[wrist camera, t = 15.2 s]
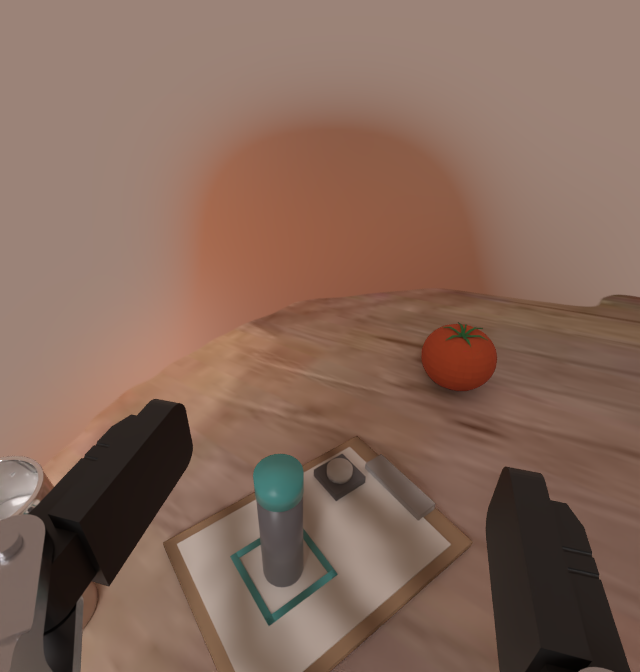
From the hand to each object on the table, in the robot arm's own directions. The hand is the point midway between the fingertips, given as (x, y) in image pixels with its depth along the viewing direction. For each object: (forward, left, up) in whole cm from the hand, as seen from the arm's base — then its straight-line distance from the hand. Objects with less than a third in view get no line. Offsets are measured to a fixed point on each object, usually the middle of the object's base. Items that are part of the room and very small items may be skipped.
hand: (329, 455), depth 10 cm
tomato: (-41, -22, -30) cm, 55 cm away
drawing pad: (-10, -13, -30) cm, 34 cm away
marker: (-6, -13, -29) cm, 32 cm away
